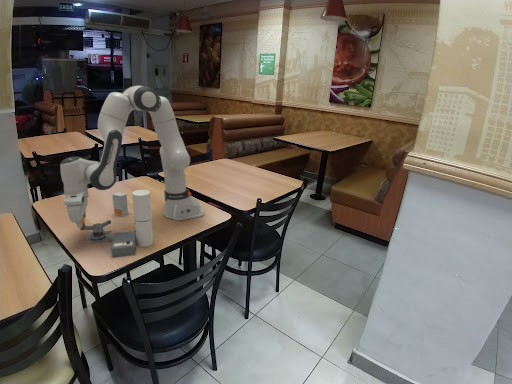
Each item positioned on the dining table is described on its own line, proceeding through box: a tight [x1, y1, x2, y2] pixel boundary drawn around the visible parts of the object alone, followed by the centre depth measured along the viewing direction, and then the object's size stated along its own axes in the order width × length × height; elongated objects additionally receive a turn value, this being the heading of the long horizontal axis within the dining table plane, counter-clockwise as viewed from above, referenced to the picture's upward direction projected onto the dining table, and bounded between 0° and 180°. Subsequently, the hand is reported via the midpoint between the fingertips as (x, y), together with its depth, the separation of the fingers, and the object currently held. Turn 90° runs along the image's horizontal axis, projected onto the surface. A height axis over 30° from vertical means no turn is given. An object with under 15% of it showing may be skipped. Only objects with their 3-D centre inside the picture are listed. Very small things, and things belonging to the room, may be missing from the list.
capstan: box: [79, 217, 112, 240], centre depth 140 cm, size 13×12×10 cm
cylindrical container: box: [132, 189, 154, 248], centre depth 135 cm, size 7×7×25 cm
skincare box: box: [111, 191, 129, 217], centre depth 163 cm, size 6×4×12 cm
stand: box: [84, 230, 137, 258], centre depth 137 cm, size 22×24×6 cm
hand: (81, 222), depth 137 cm, fingers open, 8 cm apart
